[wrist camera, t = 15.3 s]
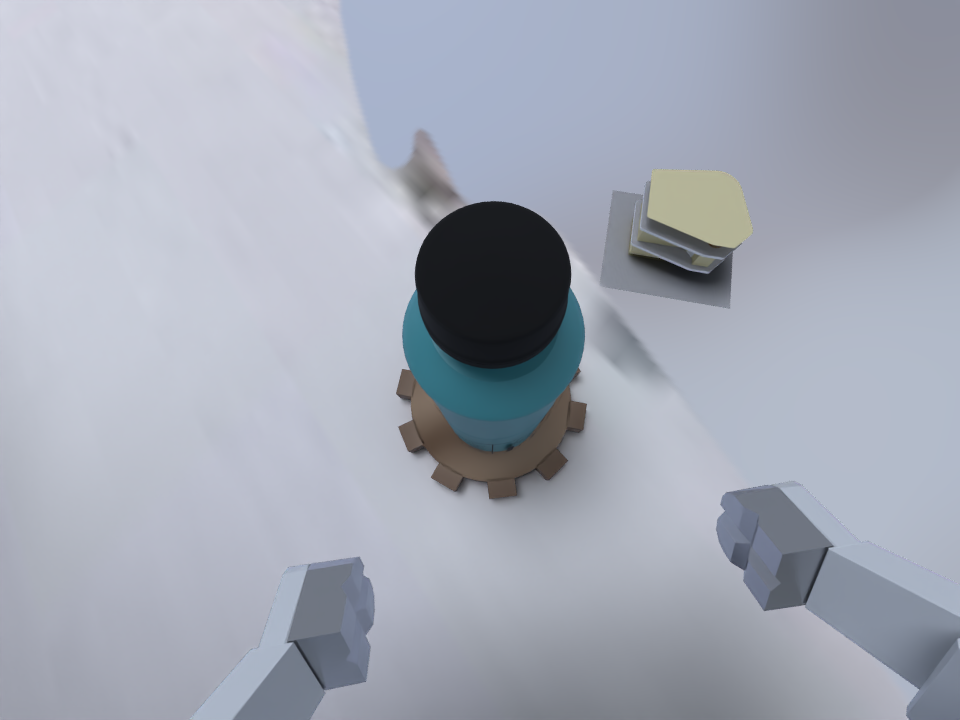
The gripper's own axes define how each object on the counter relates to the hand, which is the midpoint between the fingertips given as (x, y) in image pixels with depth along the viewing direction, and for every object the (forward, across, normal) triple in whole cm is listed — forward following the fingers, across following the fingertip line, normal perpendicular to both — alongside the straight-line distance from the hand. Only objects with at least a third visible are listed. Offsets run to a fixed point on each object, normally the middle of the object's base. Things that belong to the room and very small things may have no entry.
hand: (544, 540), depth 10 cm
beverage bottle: (+18, 0, +9) cm, 20 cm away
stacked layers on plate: (+27, -16, +3) cm, 31 cm away
